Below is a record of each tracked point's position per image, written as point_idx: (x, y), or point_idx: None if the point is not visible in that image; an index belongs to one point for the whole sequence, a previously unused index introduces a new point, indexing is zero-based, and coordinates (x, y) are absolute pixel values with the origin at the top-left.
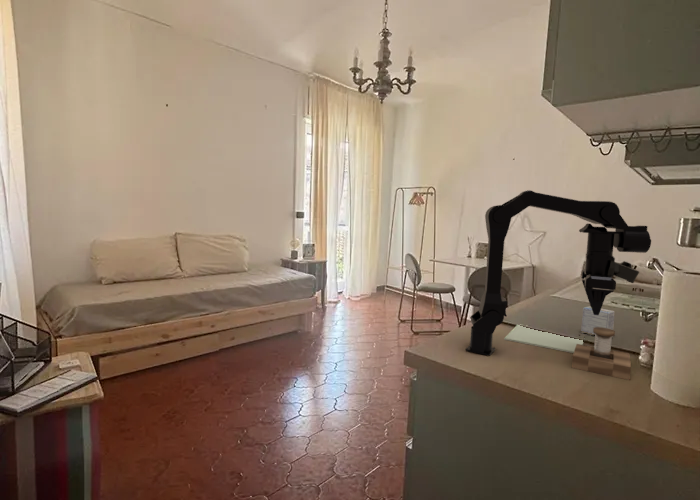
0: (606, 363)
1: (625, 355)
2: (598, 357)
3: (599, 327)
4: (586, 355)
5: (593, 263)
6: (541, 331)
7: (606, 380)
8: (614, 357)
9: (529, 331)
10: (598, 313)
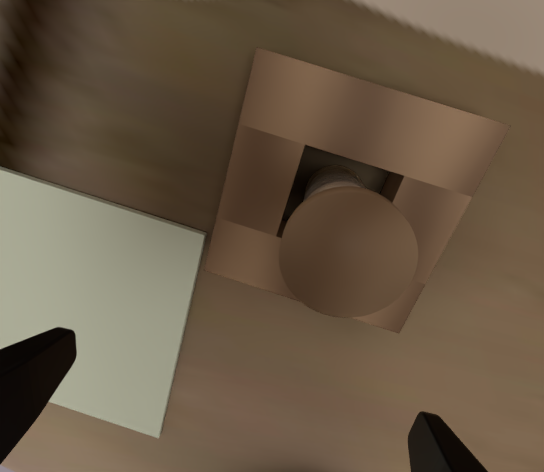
0: (457, 222)
1: (303, 84)
2: None
3: (286, 270)
4: None
5: None
6: None
7: (503, 221)
8: (360, 157)
9: None
10: (444, 430)
